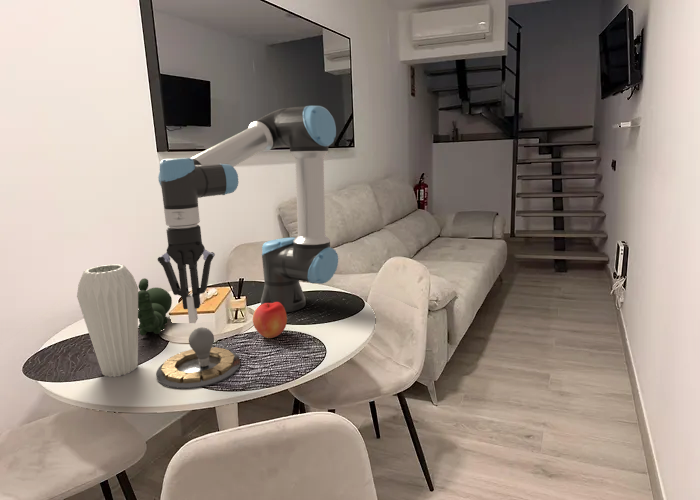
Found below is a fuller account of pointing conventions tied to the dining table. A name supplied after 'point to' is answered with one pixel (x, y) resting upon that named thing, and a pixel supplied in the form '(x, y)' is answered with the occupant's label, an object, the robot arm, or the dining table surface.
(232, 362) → the socket
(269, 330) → the apple
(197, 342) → the light bulb
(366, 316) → the dining table surface
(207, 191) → the robot arm
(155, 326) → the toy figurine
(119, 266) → the vase
